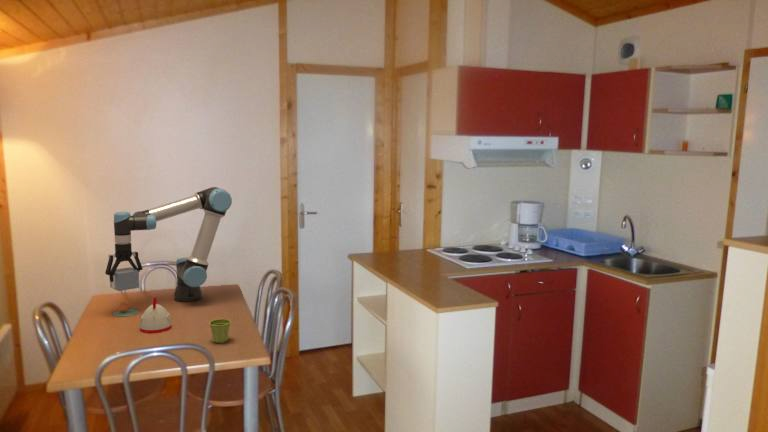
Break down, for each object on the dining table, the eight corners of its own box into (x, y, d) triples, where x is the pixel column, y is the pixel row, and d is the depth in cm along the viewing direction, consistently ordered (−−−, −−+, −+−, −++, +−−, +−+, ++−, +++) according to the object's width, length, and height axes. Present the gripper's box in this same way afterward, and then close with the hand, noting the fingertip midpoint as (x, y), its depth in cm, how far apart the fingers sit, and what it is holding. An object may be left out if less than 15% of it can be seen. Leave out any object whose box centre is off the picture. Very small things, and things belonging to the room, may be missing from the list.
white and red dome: (137, 334, 260) (136, 302, 258) (142, 325, 274) (140, 294, 272) (170, 332, 264) (169, 301, 262) (172, 323, 277) (171, 293, 275)
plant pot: (205, 340, 255) (205, 321, 253) (224, 335, 261) (224, 317, 260) (215, 346, 248) (215, 326, 247) (235, 341, 254) (234, 322, 253)
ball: (130, 301, 294) (128, 308, 296) (120, 299, 292) (118, 306, 295) (128, 308, 290) (126, 315, 292) (117, 306, 288) (116, 313, 291)
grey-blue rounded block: (139, 287, 289) (138, 270, 288) (118, 291, 282) (117, 273, 281) (130, 283, 296) (130, 267, 295) (110, 287, 289) (109, 270, 288)
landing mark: (144, 310, 295) (144, 310, 295) (128, 317, 284) (128, 317, 284) (123, 308, 298) (123, 308, 298) (107, 315, 287) (107, 315, 287)
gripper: (142, 239, 297) (144, 280, 300) (96, 244, 280) (98, 288, 283) (148, 241, 292) (150, 283, 295) (102, 246, 275) (104, 291, 278)
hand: (124, 286), depth 289 cm, fingers closed on grey-blue rounded block, 10 cm apart
